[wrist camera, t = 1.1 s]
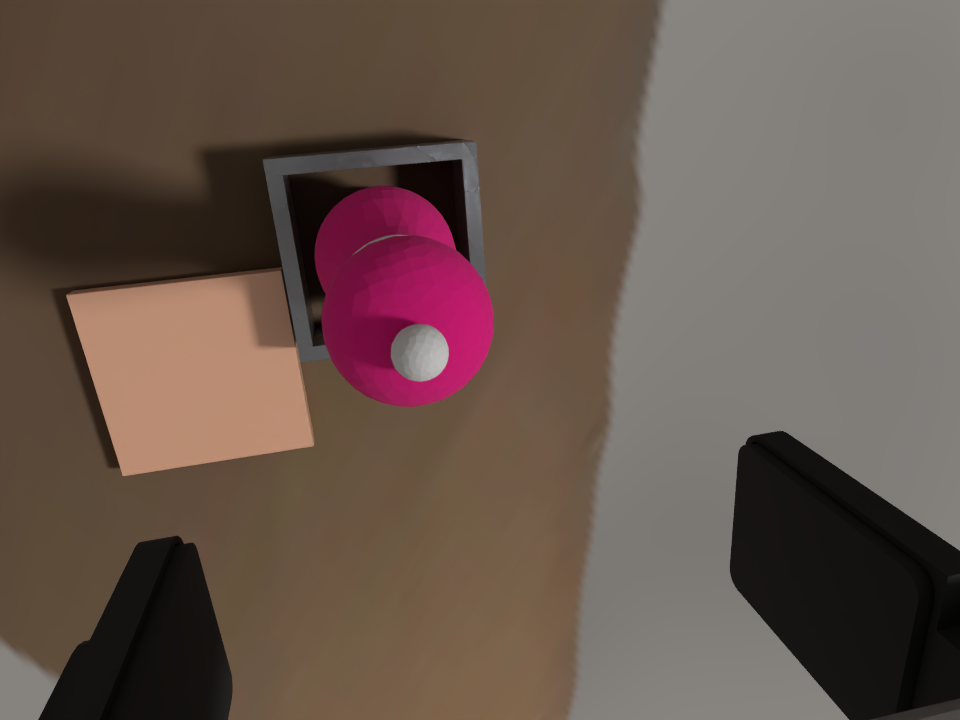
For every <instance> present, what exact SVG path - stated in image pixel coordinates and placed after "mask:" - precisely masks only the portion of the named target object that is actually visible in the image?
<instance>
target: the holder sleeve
mask: <svg viewBox="0 0 960 720" xmlns="http://www.w3.org/2000/svg"><path fill="white" fill-rule="evenodd" d="M446 160H451V161H452V173H453V184H454V196H455V208H456V220H457V232H458V243H459V253H461V254H462V255H463V256H464V257H465V258H466V259H467V260H468V261H469V262H470V263H471V264H472V265H473V266H474V268H475V269H476V271H477V272H478V273H479V275H480V276H481V278H482V279H483V281H484V284H485V286H486V275H485V261H484V247H483V233H482V218H481V204H480V190H479V176H478V162H477V148H476V141H470V140H453V141H441V142H429V143H417V144H406V145H394V146H382V147H370V148H359V149H347V150H335V151H324V152H312V153H300V154H288V155H277V156H269V157H267V158H265V159H263V165H264V170H265V175H266V181H267V186H268V191H269V197H270V202H271V208H272V213H273V218H274V224H275V229H276V234H277V240H278V245H279V251H280V256H281V261H282V267H283V272H284V277H285V283H286V288H287V294H288V299H289V304H290V310H291V315H292V320H293V326H294V331H295V337H296V342H297V347H298V353H299V358H300V362H307V361H314V360H322V359H329V358H330V355H329V353H328V350H327V348H326V345H325V342H324V337H323V330H322V327H316V328H315V325H314V319H313V313H312V308H311V302H310V296H309V290H308V285H307V279H306V273H305V267H304V262H303V256H302V250H301V244H300V239H299V233H298V227H297V221H296V216H295V210H294V204H293V198H292V193H291V187H290V181H289V175H291V174H302V173H313V172H324V171H335V170H346V169H357V168H368V167H379V166H390V165H401V164H412V163H424V162H435V161H446Z"/></svg>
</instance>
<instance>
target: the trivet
mask: <svg viewBox="0 0 960 720" xmlns="http://www.w3.org/2000/svg"><path fill="white" fill-rule="evenodd" d="M66 296H67V300H68V303H69V306H70V309H71V312H72V315H73V319H74V322H75V325H76V328H77V331H78V335H79V338H80V341H81V344H82V347H83V350H84V354H85V357H86V360H87V363H88V366H89V370H90V373H91V376H92V379H93V382H94V385H95V389H96V392H97V395H98V398H99V401H100V404H101V408H102V411H103V414H104V417H105V420H106V424H107V427H108V430H109V433H110V436H111V439H112V443H113V446H114V449H115V452H116V455H117V459H118V462H119V465H120V468H121V471H122V474H123V476H127V475H133V474H140V473H146V472H152V471H159V470H165V469H171V468H178V467H184V466H190V465H197V464H203V463H209V462H216V461H222V460H228V459H235V458H241V457H247V456H254V455H260V454H266V453H272V452H279V451H285V450H291V449H298V448H304V447H310V446H314V434H313V429H312V423H311V418H310V412H309V407H308V402H307V396H306V391H305V386H304V380H303V375H302V369H301V364H300V359H299V353H298V348H297V343H296V337H295V332H294V326H293V321H292V316H291V310H290V305H289V300H288V294H287V289H286V284H285V278H284V273H283V267H278V268H269V269H260V270H251V271H243V272H234V273H225V274H216V275H207V276H198V277H189V278H181V279H172V280H163V281H154V282H145V283H136V284H127V285H119V286H110V287H101V288H92V289H83V290H74V291H72V292H70V293H69V294H67V295H66Z"/></svg>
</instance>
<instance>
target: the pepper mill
mask: <svg viewBox="0 0 960 720" xmlns="http://www.w3.org/2000/svg"><path fill="white" fill-rule="evenodd" d="M315 265H316V270H317V274H318V278H319V280H320V283H321V285H322V288H323V290H324V292H325V294H326V296H325V300H324V304H323V309H322V330H323V337H324V342H325V345H326V348H327V350H328V353H329V355H330V358H331V360H332V362H333V363H334V365H335V366H336V368H337V370H338V371H339V372H340V374H341V375H342V376H343V377H344V378H345V379H346V380H347V381H348V382H349V383H350V384H351V385H352V386H353V387H354V388H355V389H356V390H358V391H359V392H361V393H362V394H364V395H365V396H367V397H369V398H372V399H374V400H377V401H379V402H382V403H385V404H390V405H394V406H406V407H414V406H420V405H426V404H430V403H433V402H437V401H440V400H442V399H444V398H446V397H448V396H450V395H452V394H454V393H455V392H457V391H458V390H459V389H461V388H462V387H464V386H465V385H466V384H467V383H468V382H469V381H470V379H471V378H472V377H473V376H474V375H475V374H476V373H477V371H478V370H479V369H480V367H481V365H482V363H483V361H484V360H485V358H486V355H487V353H488V351H489V347H490V344H491V341H492V337H493V327H494V320H493V309H492V303H491V299H490V296H489V292H488V290H487V288H486V286H485V284H484V281H483V279H482V278H481V276H480V275H479V273H478V272H477V271H476V269H475V268H474V266H473V265H472V264H471V263H470V262H469V261H468V260H467V259H466V258H465V257H464V256H463V255H462V254H461V253H459V252H458V251H456V247H455V244H454V241H453V237H452V234H451V231H450V229H449V227H448V225H447V223H446V221H445V220H444V218H443V216H442V215H441V214H440V213H439V211H438V210H437V209H436V208H435V207H434V206H433V205H432V204H431V203H430V202H429V201H427V200H426V199H424V198H423V197H421V196H420V195H418V194H416V193H414V192H411V191H409V190H406V189H402V188H398V187H393V186H376V187H369V188H366V189H362V190H359V191H357V192H355V193H353V194H351V195H349V196H347V197H345V198H344V199H343V200H341V201H340V202H339V203H338V204H337V205H335V206H334V207H333V209H332V210H331V211H330V212H329V213H328V215H327V216H326V218H325V219H324V221H323V223H322V224H321V227H320V229H319V232H318V235H317V239H316V244H315Z"/></svg>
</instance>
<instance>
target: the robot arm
mask: <svg viewBox="0 0 960 720" xmlns="http://www.w3.org/2000/svg"><path fill="white" fill-rule="evenodd" d="M730 573H731V577H732V581H733V583H734V585H735V587H736V588H737V590H738V591H739V592H740V593H741V594H742V595H743V597H744V598H745V599H746V600H747V601H748V603H750V605H751V606H752V607H753V608H754V609H755V611H756V612H757V613H758V614H759V615H760V616H761V618H762V619H763V620H764V621H765V622H766V623H767V624H768V626H769V627H770V628H771V629H772V630H773V632H774V633H775V634H776V635H777V636H778V637H779V638H780V640H781V641H782V642H783V643H784V644H785V646H786V647H787V648H788V649H789V650H790V651H791V652H792V654H793V655H794V656H795V657H796V658H797V659H798V660H799V662H800V663H801V664H802V665H803V666H804V668H805V669H806V670H807V671H808V672H809V673H810V675H811V676H812V677H813V678H814V679H815V680H816V681H817V682H818V684H819V685H820V686H821V687H822V688H823V690H824V691H825V692H826V693H827V694H828V695H829V697H830V698H831V699H832V700H833V701H834V702H835V704H836V705H837V706H838V707H839V708H840V709H841V711H842V712H843V713H844V714H845V715H846V716H847V717H848V719H849V720H960V551H959V550H958V549H956V548H955V547H953V546H952V545H950V544H949V543H947V542H946V541H945V540H943V539H942V538H940V537H939V536H937V535H936V534H934V533H933V532H931V531H930V530H928V529H927V528H926V527H924V526H923V525H921V524H920V523H918V522H917V521H915V520H914V519H912V518H911V517H909V516H908V515H906V514H905V513H904V512H902V511H901V510H899V509H898V508H896V507H895V506H893V505H892V504H890V503H889V502H887V501H886V500H884V499H883V498H881V497H880V496H879V495H877V494H876V493H874V492H873V491H871V490H870V489H868V488H867V487H865V486H864V485H862V484H861V483H860V482H858V481H857V480H855V479H854V478H852V477H851V476H849V475H848V474H846V473H845V472H843V471H842V470H840V469H839V468H838V467H836V466H835V465H833V464H832V463H830V462H829V461H827V460H826V459H824V458H823V457H821V456H820V455H819V454H817V453H815V452H814V451H813V450H811V449H810V448H808V447H807V446H805V445H804V444H802V443H801V442H799V441H798V440H796V439H795V438H794V437H792V436H791V435H789V434H788V433H786V432H783V431H777V432H771V433H765V434H760V435H754V436H751V437H749V438H748V440H747V442H746V445H743V446H742V447H741V448H740V450H739V454H738V466H737V480H736V492H735V506H734V519H733V532H732V546H731V559H730ZM231 700H232V675H231V671H230V667H229V663H228V660H227V656H226V653H225V649H224V645H223V642H222V638H221V634H220V631H219V627H218V623H217V620H216V616H215V613H214V609H213V605H212V602H211V598H210V594H209V591H208V587H207V583H206V580H205V576H204V573H203V569H202V565H201V562H200V558H199V554H198V551H197V548H196V546H195V544H194V543H187V544H184V543H183V541H182V539H181V538H180V537H179V536H173V537H167V538H161V539H156V540H150V541H144V542H140V543H138V544H137V545H136V547H135V549H134V551H133V553H132V555H131V557H130V559H129V561H128V563H127V565H126V567H125V569H124V571H123V573H122V575H121V577H120V579H119V581H118V583H117V586H116V588H115V590H114V592H113V594H112V596H111V598H110V600H109V602H108V604H107V606H106V608H105V610H104V612H103V614H102V616H101V618H100V620H99V622H98V624H97V627H96V629H95V631H94V633H93V635H92V637H91V639H90V640H88V641H84V642H82V643H81V644H79V645H78V646H77V647H76V649H75V650H74V652H73V653H72V655H71V657H70V659H69V661H68V663H67V664H66V666H65V668H64V670H63V672H62V674H61V676H60V678H59V680H58V682H57V684H56V686H55V688H54V690H53V692H52V694H51V696H50V698H49V700H48V702H47V704H46V706H45V708H44V710H43V712H42V714H41V715H40V718H39V719H38V720H228V716H229V711H230V705H231Z"/></svg>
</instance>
